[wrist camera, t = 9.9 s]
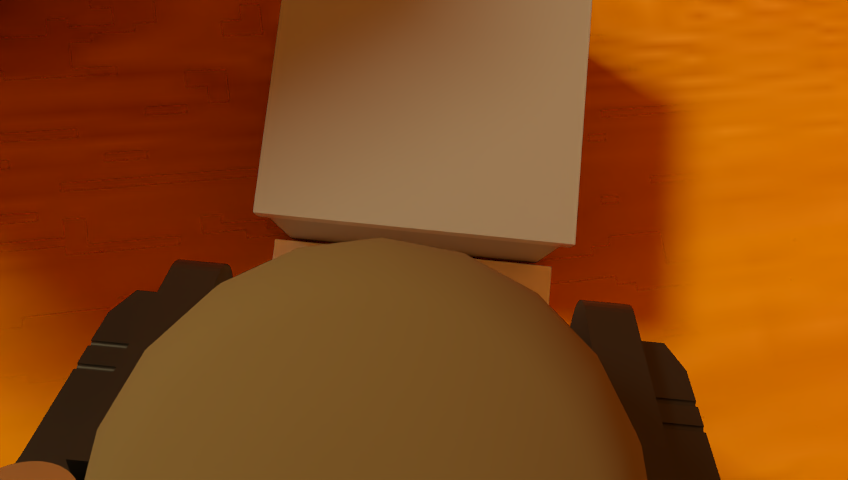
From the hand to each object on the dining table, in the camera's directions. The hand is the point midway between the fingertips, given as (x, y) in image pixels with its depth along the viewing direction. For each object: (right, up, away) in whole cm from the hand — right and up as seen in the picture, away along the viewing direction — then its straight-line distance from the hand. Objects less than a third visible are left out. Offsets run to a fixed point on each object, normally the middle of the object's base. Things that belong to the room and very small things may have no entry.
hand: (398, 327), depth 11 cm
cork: (0, -3, +5) cm, 6 cm away
